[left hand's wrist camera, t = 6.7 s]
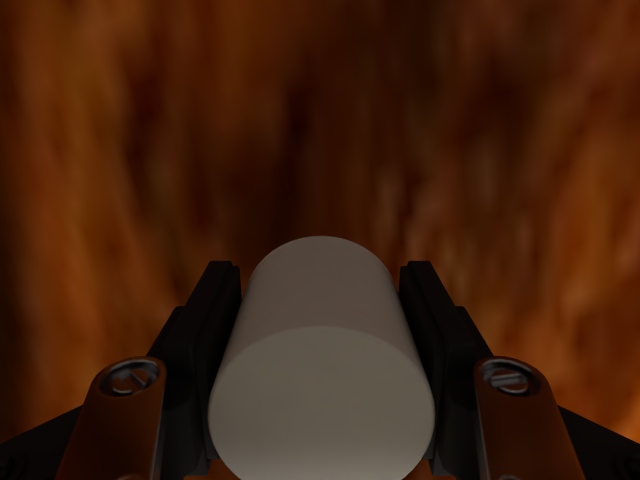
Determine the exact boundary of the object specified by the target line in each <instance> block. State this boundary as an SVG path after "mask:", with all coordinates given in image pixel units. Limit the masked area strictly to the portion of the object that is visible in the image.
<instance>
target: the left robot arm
mask: <svg viewBox="0 0 640 480" xmlns="http://www.w3.org/2000/svg"><path fill="white" fill-rule="evenodd" d="M398 295H399V298H400V301H401V304H402V307H403V310H404V313H405V316H406V318H407V321H408V324H409V327H410V330H411V333H412V336H413V339H414V342H415V345H416V347H417V350H418V353H419V356H420V359H421V362H422V365H423V368H424V371H425V373H426V376H427V379H428V382H429V385H430V388H431V391H432V395H433V399H434V404H435V425H434V430H433V434H432V438H431V441H430V443H429V445H428V448H427V450H426V452H425V453H424V455H423V457H422V458H421V459H428V461H429V465H430V468H431V472H432V475H453V476H454V477H456V478H457V479H456V480H640V444H639V443H636V442H634V441H632V440H630V439H628V438H626V437H624V436H622V435H620V434H618V433H615V432H613V431H611V430H609V429H607V428H605V427H603V426H601V425H599V424H596V423H594V422H592V421H590V420H588V419H586V418H584V417H582V416H580V415H577V414H575V413H573V412H571V411H569V410H567V409H565V408H563V407H561V406H559V405H557V403H556V401H555V398H554V396H553V393H552V390H551V388H550V385H549V383H548V381H547V379H546V378H545V376H544V375H543V374H542V373H541V372H540V371H538V370H537V369H536V368H534V367H533V366H531V365H529V364H528V363H525V362H523V361H520V360H518V359H514V358H510V357H505V356H494V355H493V354H492V352H491V350H490V349H489V347H488V345H487V344H486V342H485V340H484V339H483V337H482V335H481V334H480V332H479V331H478V329H477V327H476V326H475V324H474V322H473V321H472V319H471V317H470V316H469V314H468V312H467V311H466V309H465V308H464V307H462V306H455V305H454V303H453V302H452V300H451V298H450V296H449V295H448V293H447V291H446V289H445V287H444V286H443V284H442V282H441V280H440V279H439V277H438V275H437V273H436V272H435V270H434V268H433V266H432V265H431V263H430V261H409V262H408V264H407V266H401V269H400V279H399V292H398ZM241 302H242V296H241V282H240V270H239V266H233V265H232V262H231V261H210V262H209V264H208V266H207V268H206V269H205V271H204V273H203V275H202V276H201V278H200V280H199V282H198V283H197V285H196V287H195V289H194V291H193V292H192V294H191V296H190V298H189V299H188V301H187V303H186V305H185V306H177V307H176V308H175V309H174V310H173V312H172V314H171V315H170V317H169V318H168V320H167V322H166V323H165V325H164V327H163V328H162V330H161V332H160V333H159V335H158V337H157V338H156V340H155V342H154V343H153V345H152V347H151V348H150V350H149V352H148V353H147V355H146V356H135V357H130V358H126V359H122V360H120V361H117V362H115V363H112V364H111V365H109V366H107V367H106V368H104V369H103V370H102V371H100V372H99V373H98V374H97V375H96V376H95V378H94V379H93V381H92V383H91V385H90V388H89V390H88V393H87V396H86V398H85V401H84V403H83V405H81V406H79V407H77V408H75V409H73V410H71V411H69V412H67V413H64V414H62V415H60V416H58V417H56V418H54V419H52V420H50V421H48V422H45V423H43V424H41V425H39V426H37V427H35V428H33V429H31V430H29V431H27V432H24V433H22V434H20V435H18V436H16V437H14V438H12V439H10V440H8V441H5V442H3V443H1V444H0V480H184V479H183V478H184V477H186V476H187V475H208V471H209V468H210V464H211V460H212V459H219V458H220V456H219V454H218V452H217V450H216V448H215V446H214V444H213V441H212V438H211V435H210V432H209V426H208V403H209V397H210V394H211V391H212V388H213V385H214V382H215V379H216V376H217V373H218V370H219V367H220V364H221V361H222V358H223V355H224V352H225V349H226V346H227V343H228V340H229V337H230V334H231V331H232V328H233V325H234V322H235V319H236V316H237V313H238V310H239V308H240V305H241Z"/></svg>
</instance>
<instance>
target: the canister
mask: <svg viewBox="0 0 640 480" xmlns="http://www.w3.org/2000/svg"><path fill="white" fill-rule="evenodd" d="M434 425H435V404H434V399H433V395H432V391H431V388H430V385H429V382H428V379H427V376H426V373H425V371H424V368H423V365H422V362H421V359H420V356H419V353H418V350H417V347H416V345H415V342H414V339H413V336H412V333H411V330H410V327H409V324H408V321H407V318H406V316H405V313H404V310H403V307H402V304H401V301H400V298H399V295H398V292H397V289H396V287H395V284H394V281H393V279H392V277H391V275H390V273H389V271H388V270H387V268H386V267H385V266H384V264H383V263H382V262H381V261H380V260H379V259H378V258H377V257H376V256H375V255H374V254H373V253H371V252H370V251H368V250H367V249H365V248H364V247H362V246H360V245H358V244H356V243H354V242H351V241H348V240H345V239H341V238H337V237H329V236H312V237H305V238H300V239H297V240H293V241H291V242H288V243H286V244H284V245H282V246H280V247H278V248H277V249H275V250H273V251H272V252H271V253H269V254H268V255H267V256H266V257H265V258H264V259H263V260H262V261H261V262H260V263H259V264H258V266H257V267H256V268H255V270H254V271H253V273H252V275H251V277H250V279H249V281H248V284H247V287H246V290H245V293H244V296H243V299H242V302H241V305H240V308H239V310H238V313H237V316H236V319H235V322H234V325H233V328H232V331H231V334H230V337H229V340H228V343H227V346H226V349H225V352H224V355H223V358H222V361H221V364H220V367H219V370H218V373H217V376H216V379H215V382H214V385H213V388H212V391H211V394H210V397H209V403H208V426H209V432H210V435H211V438H212V441H213V444H214V446H215V448H216V450H217V452H218V454H219V456H220V457H221V459H222V460H223V461H224V463H225V464H226V465H227V467H228V468H229V469H230V470H231V471H232V472H233V473H234V474H235V475H236V476H238V477H239V478H240V479H241V480H401V479H403V478H404V477H405V476H406V475H407V474H408V473H409V472H410V471H411V470H413V468H414V467H415V466H416V465H417V464H418V462H419V461H420V460H421V458H422V457H423V455H424V453H425V452H426V450H427V448H428V445H429V443H430V441H431V438H432V434H433V430H434Z"/></svg>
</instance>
